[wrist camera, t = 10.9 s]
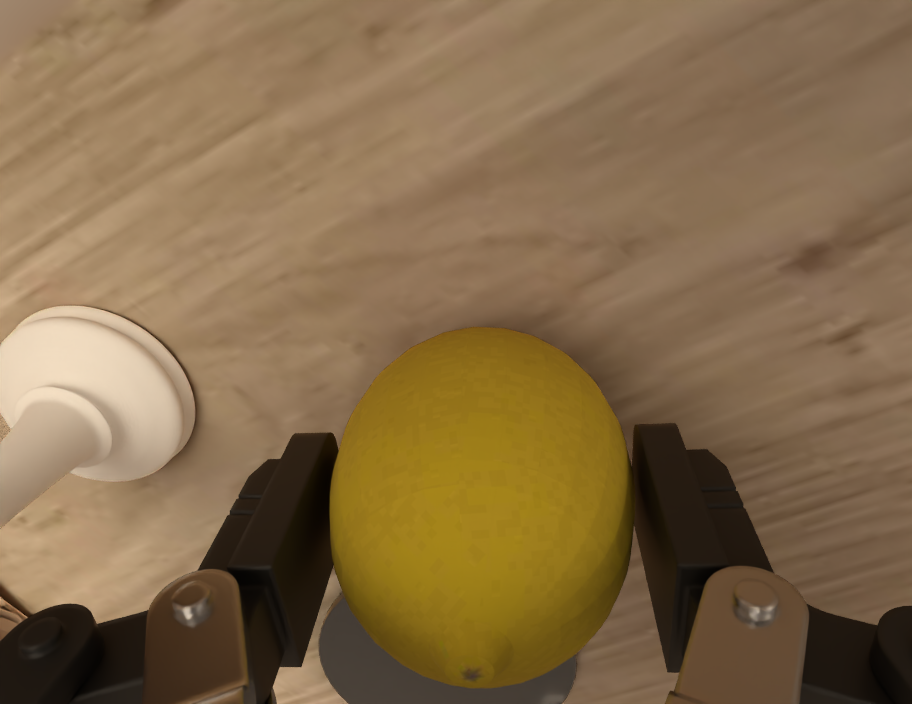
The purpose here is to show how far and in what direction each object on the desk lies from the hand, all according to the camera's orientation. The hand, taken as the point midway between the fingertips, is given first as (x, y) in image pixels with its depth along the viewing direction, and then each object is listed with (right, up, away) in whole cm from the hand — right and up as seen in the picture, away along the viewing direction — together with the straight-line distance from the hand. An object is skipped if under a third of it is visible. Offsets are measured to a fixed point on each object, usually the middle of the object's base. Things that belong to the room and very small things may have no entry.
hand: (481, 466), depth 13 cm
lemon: (0, +2, +3) cm, 4 cm away
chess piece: (-10, +1, +4) cm, 11 cm away
